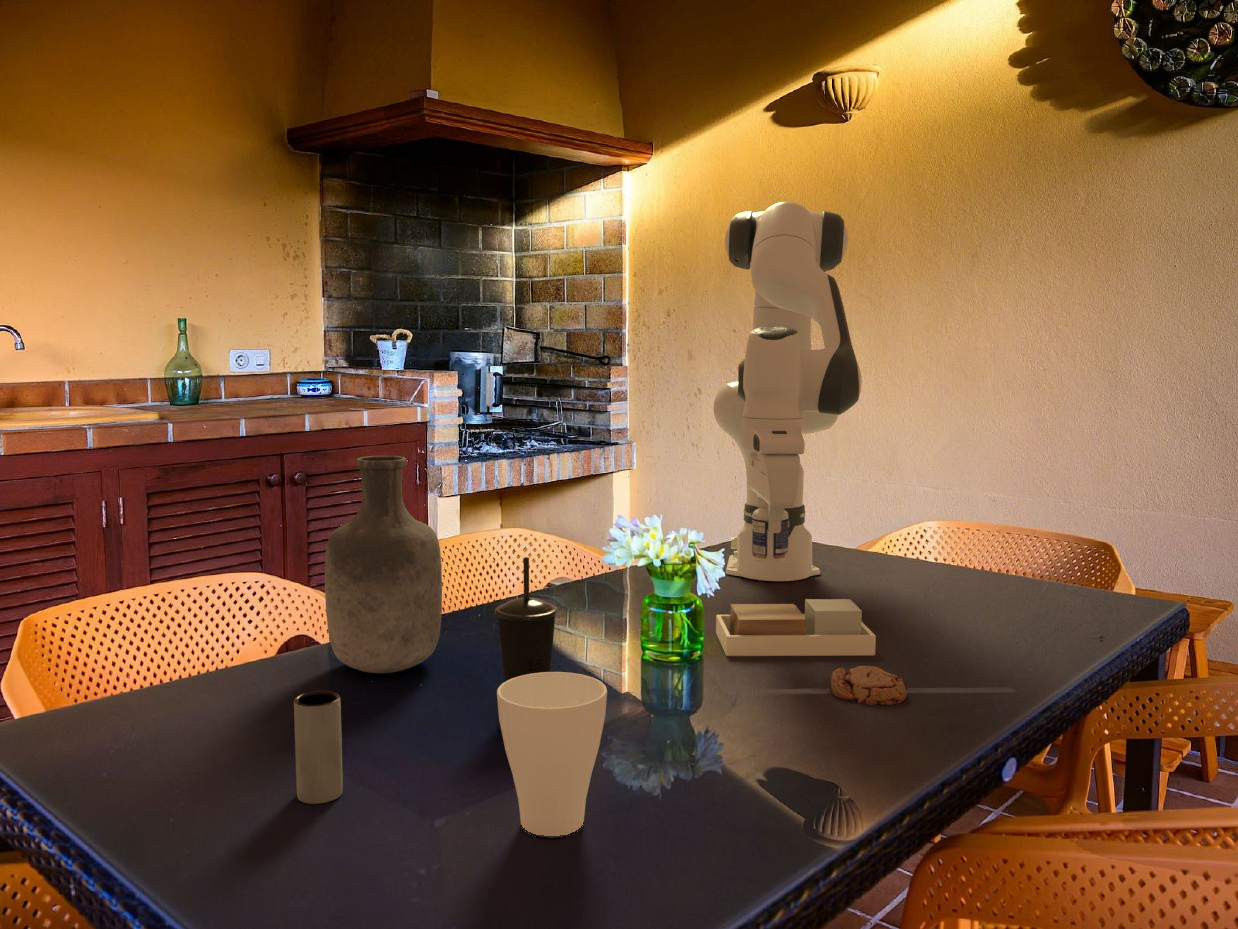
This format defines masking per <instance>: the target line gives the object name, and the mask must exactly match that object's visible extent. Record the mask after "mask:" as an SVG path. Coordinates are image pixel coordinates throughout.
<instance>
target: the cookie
mask: <svg viewBox="0 0 1238 929" xmlns="http://www.w3.org/2000/svg"><path fill="white" fill-rule="evenodd" d="M830 686H831V687H830V691H831V693H832V695H833V696H835V697H836V698H839V699H841V700H847V701H848V700H849V701H853V702H854V701H855V702H856V701H857V703H858V704H866V705H870V706H871V705H872V706H873V705H874V706H875V705H883V706H884V705H885V706H887V705H888V706H892V705H895V704H901V703H903V701H905V700H906V699H907V692H908V691H907V688H906V686H905V683H904V681H903V678H901V677H900V678H899V677H898V676H897V675H896V674H891V673H890V672H887V671H886V670H885V671H884V670H883V668H880V667H878V666H871V665H869V666H868V665H858V666H856V667H852V668H850V669H849V670H847V669H845V668H844V667H839V668H836V669H835V670H833V671H832V673H831V679H830Z"/></svg>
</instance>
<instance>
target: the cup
mask: <svg viewBox="0 0 1238 929" xmlns="http://www.w3.org/2000/svg"><path fill="white" fill-rule="evenodd" d="M496 699H497V709H498V721H499V725H500V730H501V736H502V740H503V744H504V750H505V753H506V757H507V760H508V761H507V762H508V764H509V767H510V770H511V774H512V778H513V782H514V786H515V787H514V788H515V791H516V796H517V800H518V807H519V818H520V825H522V827H523V828H525V830H527V831H528V832H531V833H533V834H536V835H544V836H560V835H568V834H570V833H572V832H575V831H576V830H578V829H579V828H581V826H582V825H583V826H584V824H583V822H585V813H586V803H587V802H586V801H587V796H588V792H589V787H590V782H591V778H592V772H593V769H594V766H595V763H596V760H597V756H598V752H599V748H600V744H601V739H602V735H603V730H604V724H605V718H606V713H607V712H606V709H607V699H608V689H607V686H606V685H605V683H603V681H601V680H599V679H597V678H595V677H592V676H588V675H585V674H581V673H574V672H565V671H564V672H563V671H550V672H542V673H533V674H527V675H522V676H518V677H515V678H512V679H509V680H508V681H506V682H502V683H501V684H500V686H498V688H497V689H496ZM583 826H582V827H583ZM522 827H521V828H522ZM523 828H522V829H523ZM581 829H582V828H581Z"/></svg>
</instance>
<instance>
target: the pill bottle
mask: <svg viewBox="0 0 1238 929" xmlns="http://www.w3.org/2000/svg"><path fill="white" fill-rule="evenodd" d="M757 505H758V506H759V508H758V509H757V510H755V511H754V512H753V517H752V557H753V559H754V560H755V561H758V562H765V563H779V562H784V561H786V560H787V559H788V519H789V517H788V513H787V511H785V510H784V513H783V517H782V521H781V532H780V533H770V532H769V531H768V529H767V520H768V515H769V510H768V504H767V503H766V502H765V501H764V500H763V499H762V498H761V497H760V496H757Z"/></svg>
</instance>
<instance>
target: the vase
mask: <svg viewBox="0 0 1238 929" xmlns="http://www.w3.org/2000/svg"><path fill="white" fill-rule="evenodd" d="M355 462H356V463H355V464H356V467H357V468H358V469H359V470H360V477H361V491H362V492H361V495H362V497H361V504H360V506H359V509H358V511H357V513H356V514H355V515H354V516H353V517H352V518H351V520H350V521H349V522H346V523H345V524H342V525H341V526H339V527H337V528H336V529H335V530H334V531H332V532H331V534H330V535H329V538H328V540H327V544H326V548H325V556H324V563H325V564H324V595H325V596H324V597H325V598H324V599H325V600H324V601H325V614H326V615H325V616H326V623H327V625H326V626H327V632H328V638H329V643H330V646H331V649H332V652H333V653H334V655H335V657H336V658H337V659H338V660H339V661H340V662H341V663H342V664H343V665H344V664H345V665H346V666H348V667H349V668H352V669H355V670H357V671H361V672H364V673H371V674H392V673H397V672H401V671H405V670H408V669H411V668H413V667H415V666H418V665H419V664H421V663H422V662H425V661H426V660H427V659H428V658H429V657H430V656H431V655H432V654H433V653H434V651H435V649H436V647H437V645H438V642H439V638H440V634H441V625H442V624H441V623H442V613H443V612H442V609H443V576H442V575H443V572H442V556H441V554H442V553H441V547H440V541H439V539H438V536H437V533H436V531H434V530H433V528H432V527H431V526H430V525H428V524H426V523H425V522H421V521H420V520H417V519H415V518H414V517H413V516H412V515H411V513H410V512H409V511H408V510H407V508H406V506H405V503H404V498H403V485H402V484H403V469H404V468H405V467H407V458H406V457H404V456H398V455H371V456H369V455H368V456H362V457H361V456H360V457H358V458H356V460H355Z"/></svg>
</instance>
